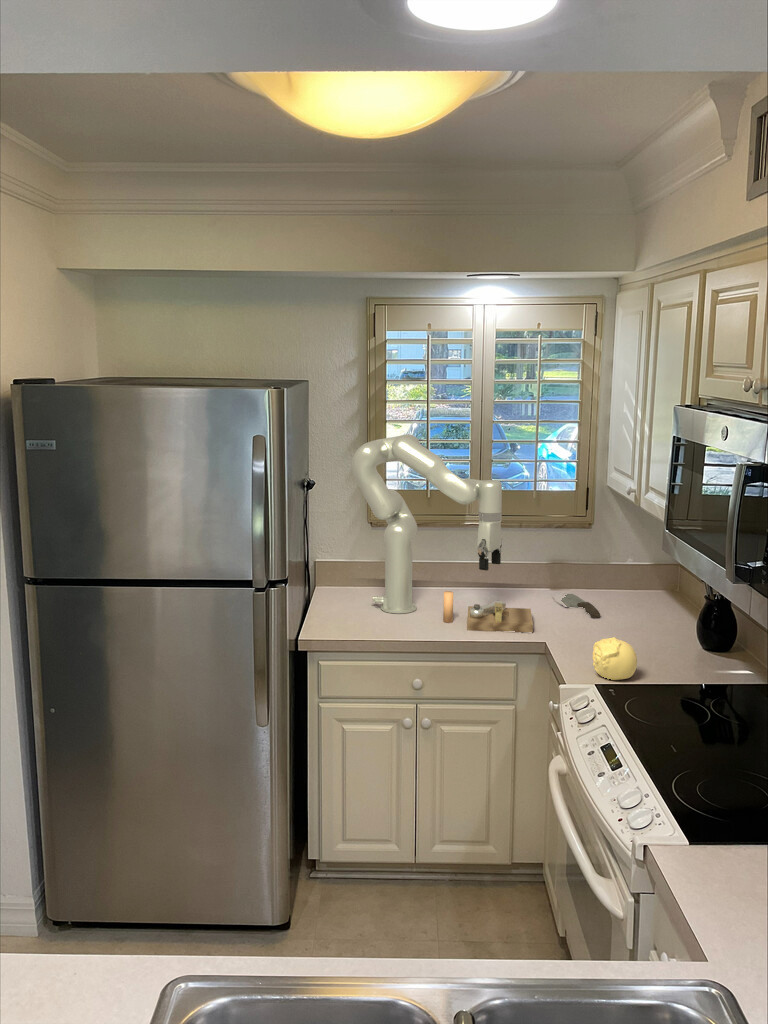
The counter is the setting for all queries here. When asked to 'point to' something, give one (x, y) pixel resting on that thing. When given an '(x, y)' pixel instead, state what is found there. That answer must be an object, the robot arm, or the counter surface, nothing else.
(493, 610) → the latch bar
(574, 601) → the cleaver
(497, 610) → the keeper
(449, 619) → the lock pin
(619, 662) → the sculpture
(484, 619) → the base plate
